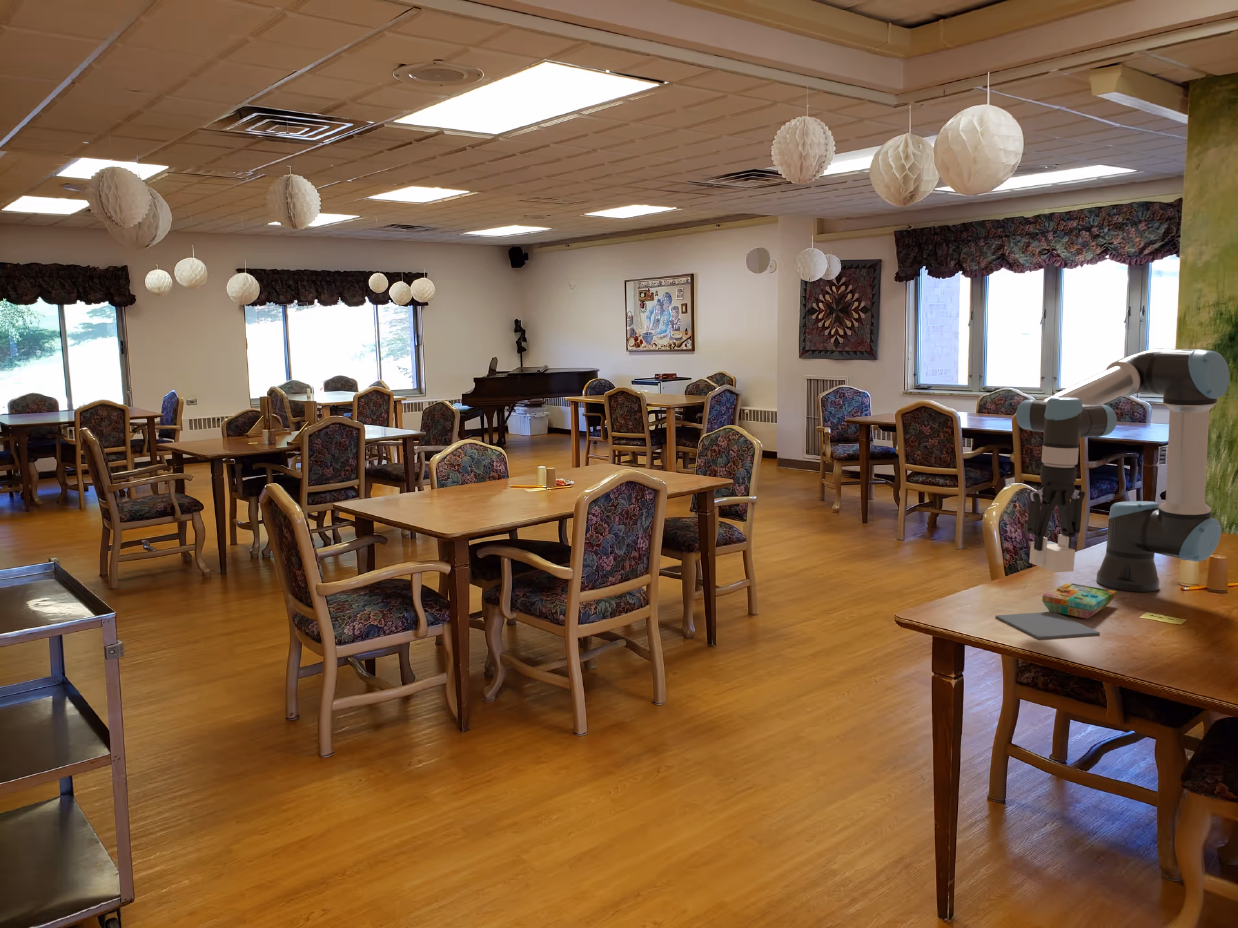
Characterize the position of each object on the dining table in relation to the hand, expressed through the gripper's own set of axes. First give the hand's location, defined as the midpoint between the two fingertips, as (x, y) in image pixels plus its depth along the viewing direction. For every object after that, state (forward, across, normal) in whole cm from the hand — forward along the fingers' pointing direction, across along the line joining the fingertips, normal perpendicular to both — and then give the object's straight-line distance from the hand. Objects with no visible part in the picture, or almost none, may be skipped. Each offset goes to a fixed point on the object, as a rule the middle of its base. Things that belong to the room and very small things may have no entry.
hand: (1050, 563), depth 218 cm
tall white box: (+1, 0, 0) cm, 1 cm away
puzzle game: (+15, -17, -10) cm, 25 cm away
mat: (+15, 0, 0) cm, 15 cm away
